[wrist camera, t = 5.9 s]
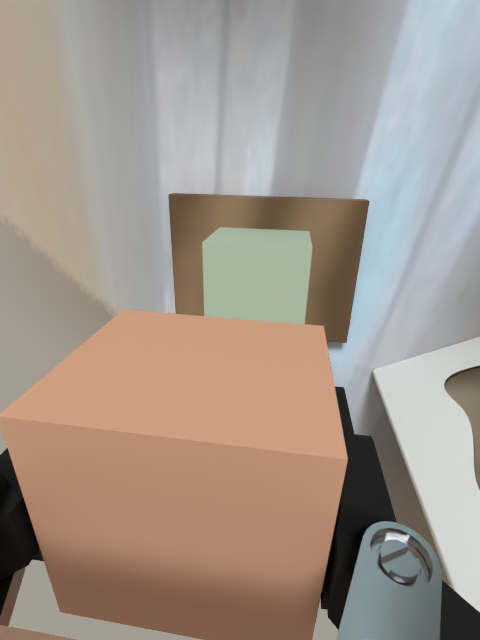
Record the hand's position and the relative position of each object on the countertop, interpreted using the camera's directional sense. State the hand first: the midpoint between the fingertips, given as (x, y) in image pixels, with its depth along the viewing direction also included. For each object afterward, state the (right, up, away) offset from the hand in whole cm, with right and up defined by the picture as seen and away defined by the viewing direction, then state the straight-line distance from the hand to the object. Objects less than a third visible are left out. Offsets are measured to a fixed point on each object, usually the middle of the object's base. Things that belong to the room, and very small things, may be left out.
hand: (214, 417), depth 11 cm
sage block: (+2, +6, +14) cm, 16 cm away
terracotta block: (0, 0, +1) cm, 1 cm away
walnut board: (+2, +7, +15) cm, 17 cm away
